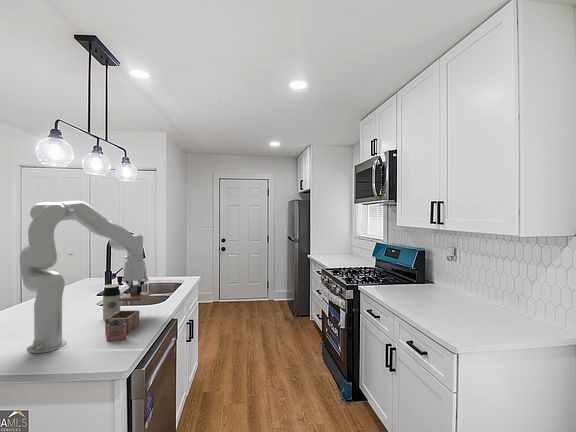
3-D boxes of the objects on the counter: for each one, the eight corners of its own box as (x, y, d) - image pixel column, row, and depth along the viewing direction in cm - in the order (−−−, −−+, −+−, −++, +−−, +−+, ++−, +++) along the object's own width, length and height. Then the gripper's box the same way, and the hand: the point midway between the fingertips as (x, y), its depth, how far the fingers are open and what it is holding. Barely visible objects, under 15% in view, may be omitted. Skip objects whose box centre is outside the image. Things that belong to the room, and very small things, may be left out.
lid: (140, 300, 170) (140, 288, 170) (119, 301, 170) (119, 288, 170) (150, 294, 184) (150, 282, 184) (130, 294, 183) (130, 283, 183)
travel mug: (105, 318, 181) (105, 284, 181) (121, 317, 183) (121, 283, 183) (101, 322, 173) (101, 287, 173) (118, 321, 175) (118, 286, 175)
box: (127, 336, 154) (127, 318, 154) (105, 336, 154) (105, 318, 154) (139, 326, 167) (139, 310, 167) (118, 326, 167) (118, 310, 167)
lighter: (105, 344, 145) (105, 320, 145) (107, 341, 148) (107, 318, 148) (125, 342, 147) (125, 319, 147) (127, 339, 150) (127, 316, 150)
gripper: (115, 259, 172) (116, 295, 173) (148, 259, 173) (148, 295, 173) (122, 257, 180) (122, 292, 180) (153, 257, 180) (154, 291, 181)
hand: (135, 293), depth 177 cm, fingers closed on lid, 3 cm apart
